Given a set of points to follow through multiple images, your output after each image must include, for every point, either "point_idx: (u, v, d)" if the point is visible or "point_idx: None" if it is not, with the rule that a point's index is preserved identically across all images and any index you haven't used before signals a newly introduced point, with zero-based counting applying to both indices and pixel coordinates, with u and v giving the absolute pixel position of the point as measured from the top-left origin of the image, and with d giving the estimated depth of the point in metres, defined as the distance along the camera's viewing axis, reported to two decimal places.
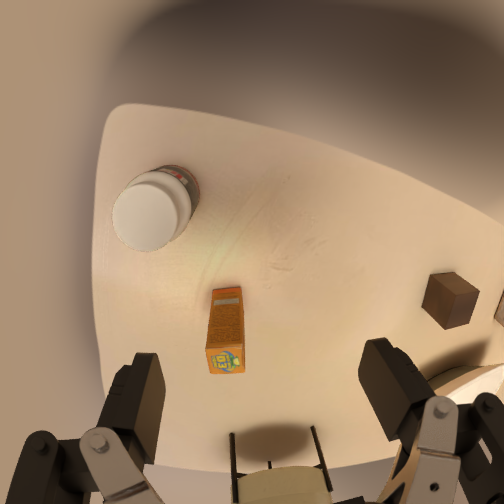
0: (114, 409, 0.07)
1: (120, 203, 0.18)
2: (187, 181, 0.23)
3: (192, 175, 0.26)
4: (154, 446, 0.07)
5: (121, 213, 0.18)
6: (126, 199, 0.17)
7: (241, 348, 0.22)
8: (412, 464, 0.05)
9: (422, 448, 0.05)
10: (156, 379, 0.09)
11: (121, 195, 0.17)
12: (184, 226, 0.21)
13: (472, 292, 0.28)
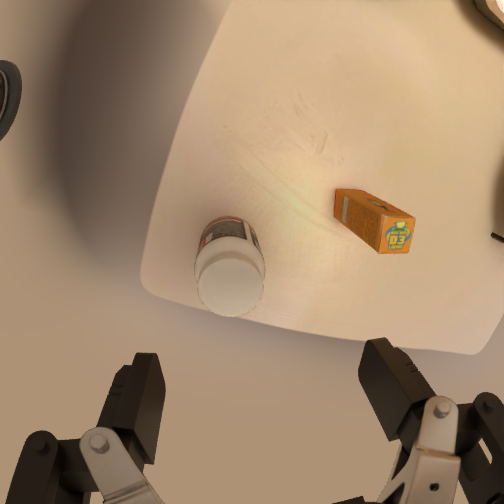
0: (114, 409, 0.07)
1: (213, 307, 0.21)
2: (211, 233, 0.24)
3: (212, 222, 0.28)
4: (154, 446, 0.07)
5: (222, 307, 0.21)
6: (210, 301, 0.20)
7: (386, 216, 0.19)
8: (412, 464, 0.05)
9: (422, 448, 0.05)
10: (156, 379, 0.09)
11: (205, 305, 0.21)
12: (250, 246, 0.22)
13: None
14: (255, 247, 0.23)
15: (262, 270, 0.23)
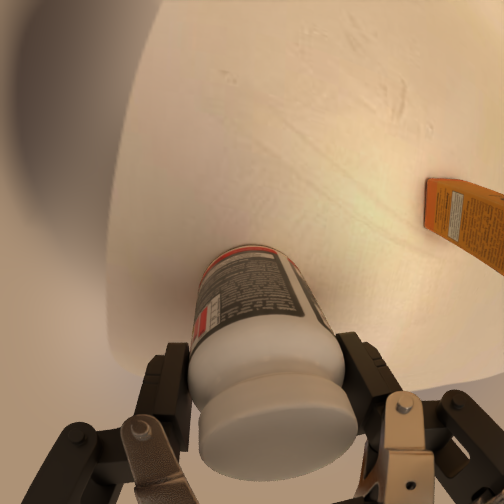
0: (150, 397, 0.08)
1: (242, 475, 0.07)
2: (217, 296, 0.11)
3: (217, 260, 0.14)
4: (188, 433, 0.08)
5: (263, 474, 0.07)
6: (234, 470, 0.07)
7: None
8: (382, 465, 0.05)
9: (390, 447, 0.05)
10: (187, 368, 0.10)
11: (225, 475, 0.07)
12: (316, 336, 0.08)
13: None
14: (325, 331, 0.09)
15: (342, 377, 0.09)
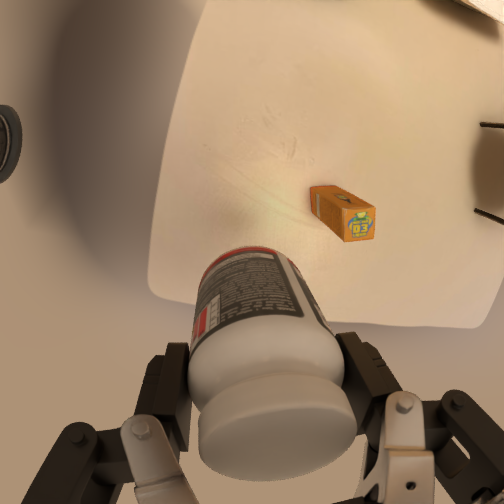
0: (150, 397, 0.08)
1: (241, 475, 0.07)
2: (217, 297, 0.11)
3: (217, 260, 0.14)
4: (188, 433, 0.08)
5: (262, 474, 0.07)
6: (233, 470, 0.07)
7: (346, 209, 0.23)
8: (382, 465, 0.05)
9: (390, 447, 0.05)
10: (187, 368, 0.10)
11: (224, 474, 0.07)
12: (315, 337, 0.08)
13: None
14: (325, 331, 0.09)
15: (341, 377, 0.09)
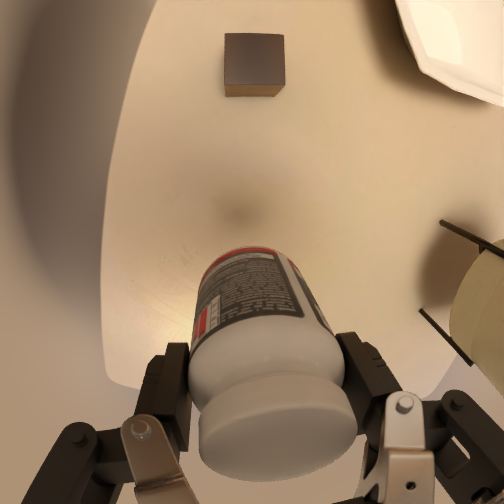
0: (150, 397, 0.08)
1: (242, 475, 0.07)
2: (217, 297, 0.11)
3: (217, 260, 0.14)
4: (188, 433, 0.08)
5: (263, 474, 0.07)
6: (233, 470, 0.07)
7: None
8: (382, 465, 0.05)
9: (390, 447, 0.05)
10: (187, 368, 0.10)
11: (225, 475, 0.07)
12: (316, 337, 0.08)
13: (225, 50, 0.20)
14: (325, 332, 0.09)
15: (341, 378, 0.09)
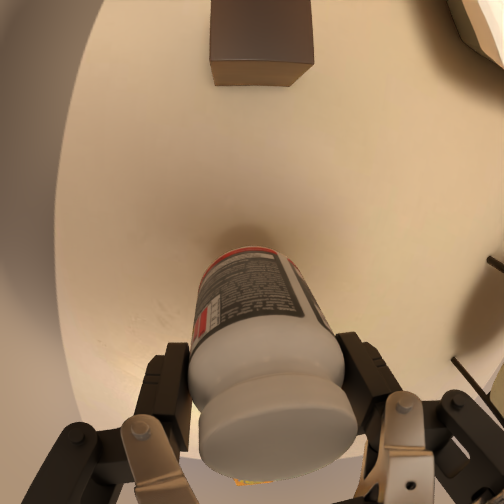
0: (150, 397, 0.08)
1: (242, 475, 0.07)
2: (217, 297, 0.11)
3: (217, 260, 0.14)
4: (188, 433, 0.08)
5: (263, 474, 0.07)
6: (234, 470, 0.07)
7: None
8: (382, 465, 0.05)
9: (390, 447, 0.05)
10: (187, 368, 0.10)
11: (225, 475, 0.07)
12: (316, 337, 0.08)
13: (212, 6, 0.10)
14: (325, 331, 0.09)
15: (341, 377, 0.09)
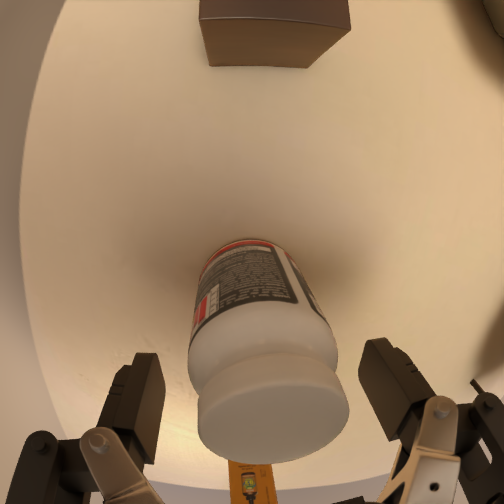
0: (114, 409, 0.07)
1: (239, 457, 0.08)
2: (217, 286, 0.11)
3: (217, 253, 0.15)
4: (154, 446, 0.07)
5: (259, 456, 0.08)
6: (231, 451, 0.08)
7: None
8: (412, 464, 0.05)
9: (422, 448, 0.05)
10: (155, 379, 0.09)
11: (222, 456, 0.08)
12: (309, 322, 0.09)
13: None
14: (318, 317, 0.10)
15: (334, 363, 0.10)
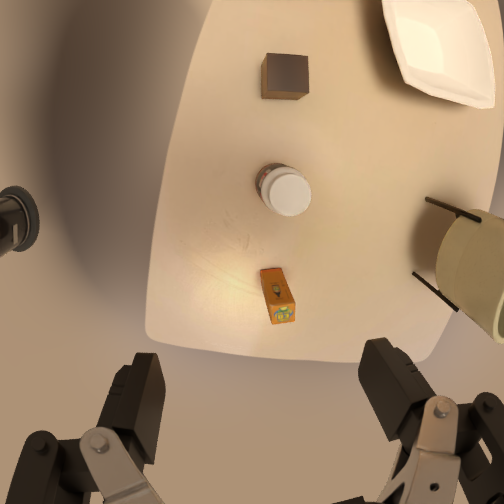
0: (113, 409, 0.07)
1: (280, 209, 0.31)
2: (268, 169, 0.34)
3: (264, 167, 0.38)
4: (154, 446, 0.07)
5: (286, 209, 0.31)
6: (277, 205, 0.31)
7: (272, 305, 0.35)
8: (412, 464, 0.05)
9: (422, 448, 0.05)
10: (156, 379, 0.09)
11: (275, 208, 0.31)
12: (298, 171, 0.32)
13: (267, 65, 0.29)
14: (301, 173, 0.33)
15: None
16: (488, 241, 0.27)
